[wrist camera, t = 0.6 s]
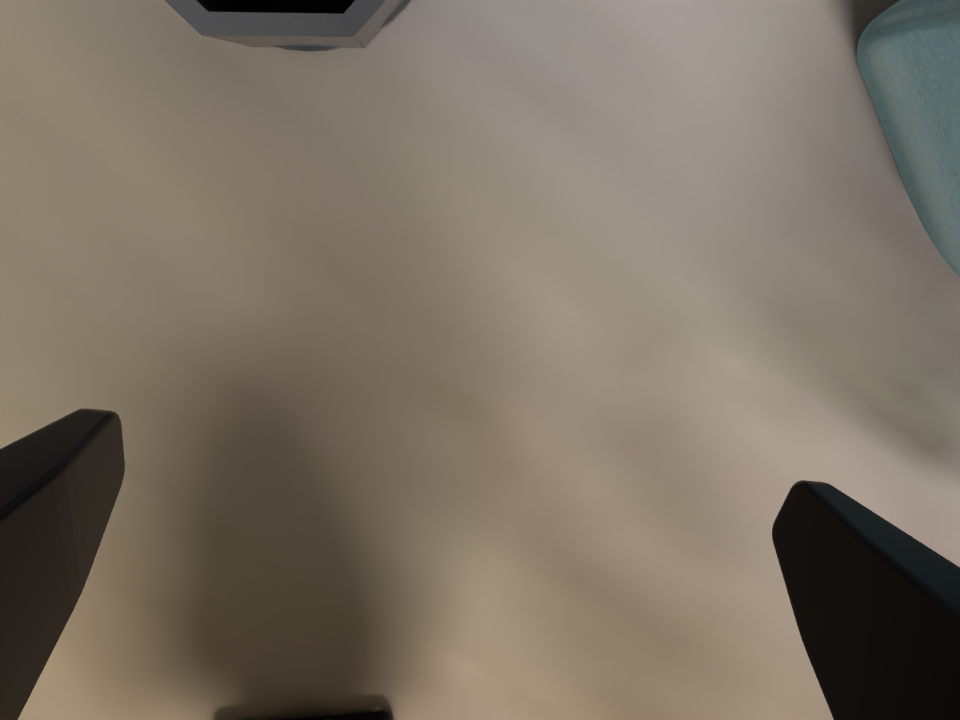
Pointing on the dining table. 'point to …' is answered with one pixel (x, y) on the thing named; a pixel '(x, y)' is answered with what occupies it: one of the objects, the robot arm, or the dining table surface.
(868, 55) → the flower pot
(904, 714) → the robot arm
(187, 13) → the grey octagonal mug
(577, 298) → the dining table surface
